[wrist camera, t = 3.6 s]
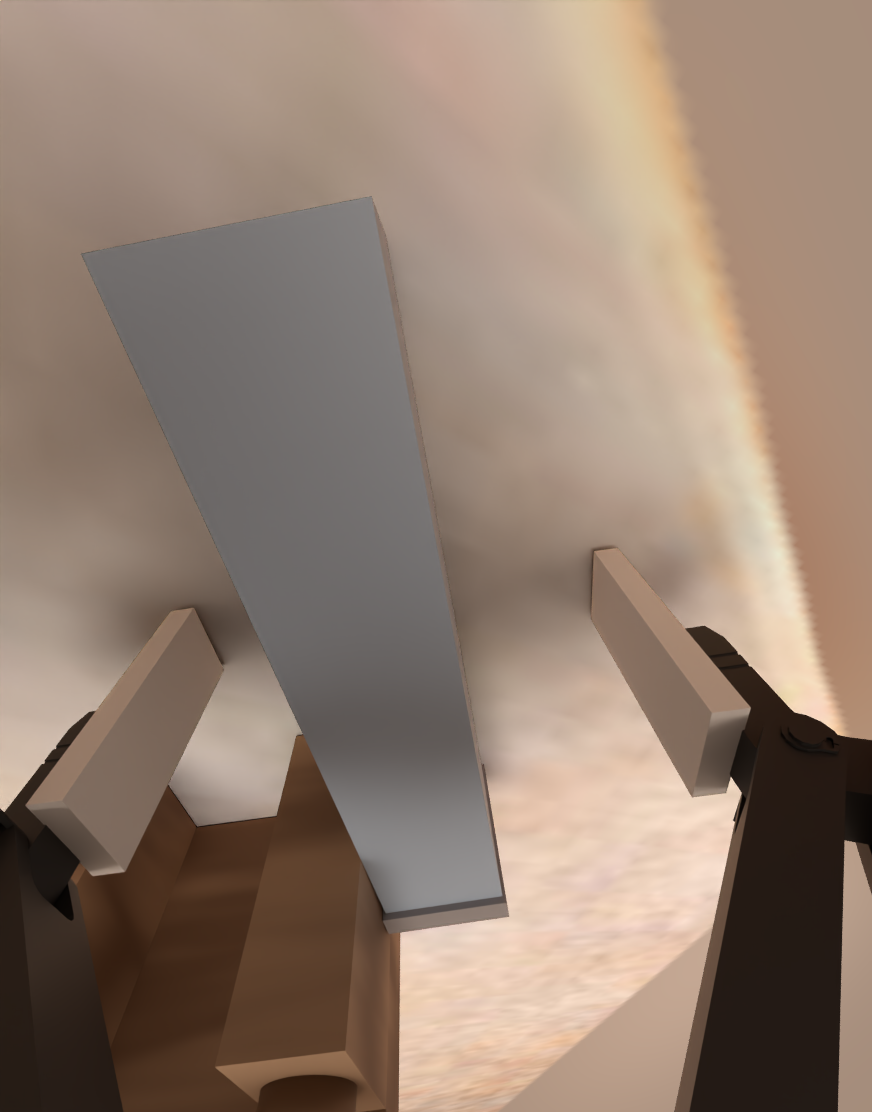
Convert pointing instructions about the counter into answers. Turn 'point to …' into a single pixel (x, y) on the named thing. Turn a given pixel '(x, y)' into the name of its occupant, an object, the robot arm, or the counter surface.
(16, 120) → the counter surface
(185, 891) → the wooden bracket with knobs
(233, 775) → the counter surface
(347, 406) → the rail
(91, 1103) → the robot arm
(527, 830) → the counter surface
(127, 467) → the counter surface
